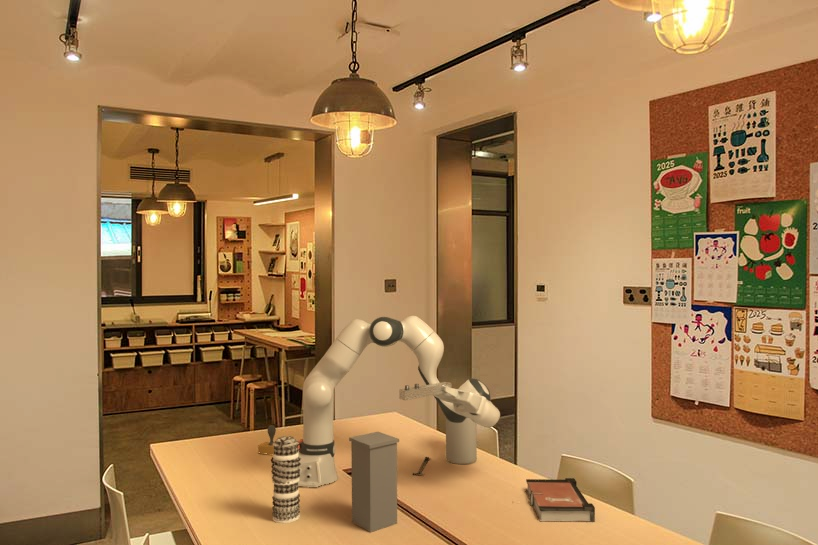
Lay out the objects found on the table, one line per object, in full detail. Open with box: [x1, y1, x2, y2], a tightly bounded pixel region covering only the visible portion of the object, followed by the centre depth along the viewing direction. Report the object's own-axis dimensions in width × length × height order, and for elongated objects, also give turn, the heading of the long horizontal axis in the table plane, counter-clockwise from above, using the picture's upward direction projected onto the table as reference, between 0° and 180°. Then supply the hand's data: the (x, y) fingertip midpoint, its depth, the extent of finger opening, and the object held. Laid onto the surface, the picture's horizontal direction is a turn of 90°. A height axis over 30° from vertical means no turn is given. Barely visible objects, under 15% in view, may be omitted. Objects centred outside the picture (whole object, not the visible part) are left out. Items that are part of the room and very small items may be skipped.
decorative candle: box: [270, 435, 301, 524], centre depth 191 cm, size 9×9×25 cm
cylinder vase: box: [445, 417, 478, 465], centre depth 248 cm, size 12×12×25 cm
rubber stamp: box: [257, 424, 277, 454], centre depth 259 cm, size 10×6×12 cm, turn 69°
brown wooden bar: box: [398, 381, 453, 401], centre depth 200 cm, size 20×3×4 cm, turn 129°
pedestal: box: [348, 431, 400, 533], centre depth 187 cm, size 11×11×26 cm
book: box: [525, 477, 596, 523], centre depth 200 cm, size 26×18×5 cm
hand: (440, 387), depth 203 cm, fingers closed on brown wooden bar, 3 cm apart
